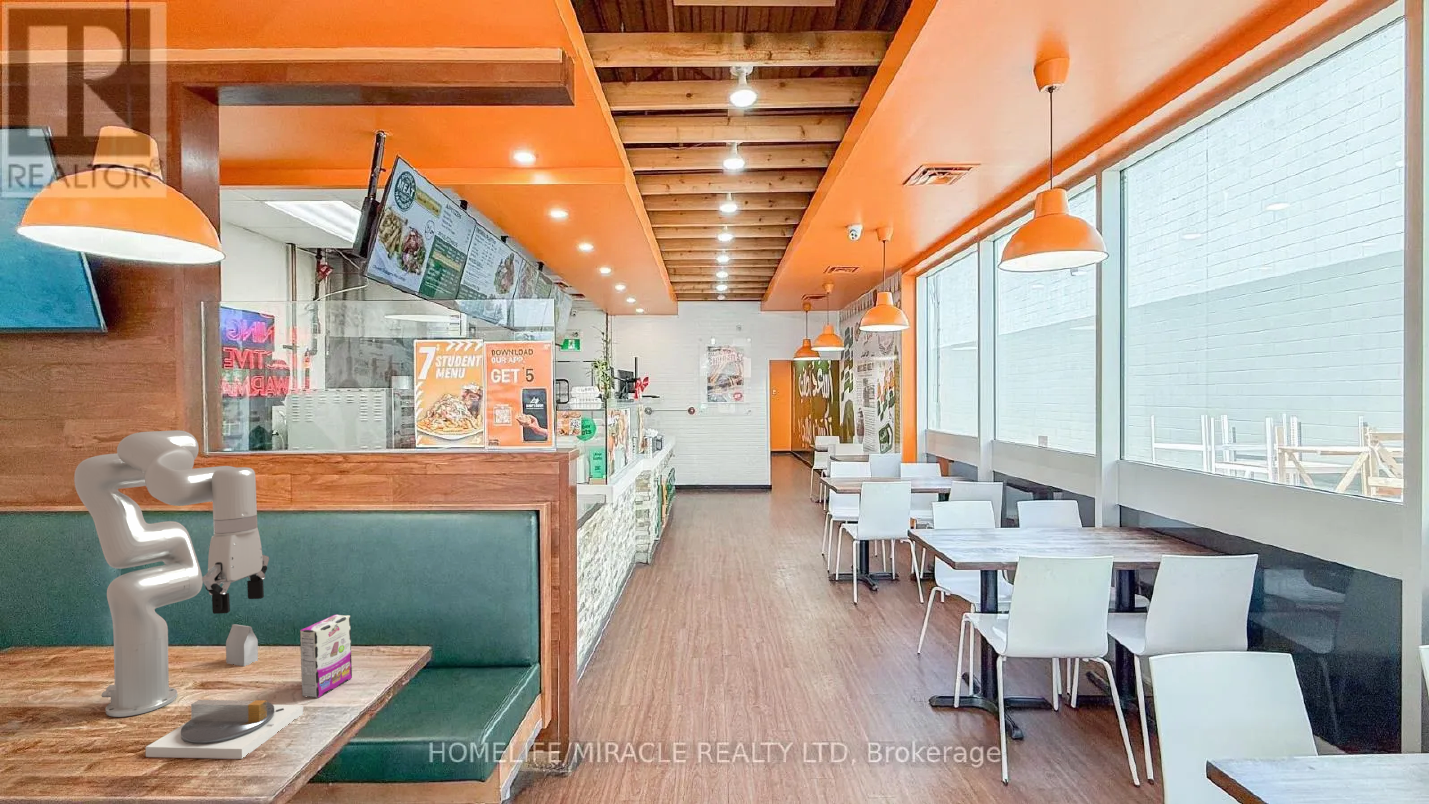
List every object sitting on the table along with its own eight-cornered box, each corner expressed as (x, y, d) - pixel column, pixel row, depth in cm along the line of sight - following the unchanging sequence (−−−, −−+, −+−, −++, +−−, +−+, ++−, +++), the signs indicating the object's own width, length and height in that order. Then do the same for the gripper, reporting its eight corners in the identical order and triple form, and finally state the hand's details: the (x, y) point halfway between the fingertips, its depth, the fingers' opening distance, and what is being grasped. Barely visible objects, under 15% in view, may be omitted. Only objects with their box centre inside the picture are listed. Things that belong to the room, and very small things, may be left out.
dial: (159, 743, 130) (159, 720, 130) (223, 704, 146) (222, 684, 146) (236, 744, 129) (235, 722, 129) (291, 705, 145) (291, 685, 145)
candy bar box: (335, 677, 166) (335, 613, 165) (352, 678, 165) (351, 614, 164) (299, 697, 155) (298, 629, 154) (317, 699, 154) (316, 630, 153)
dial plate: (145, 756, 129) (145, 746, 129) (218, 712, 147) (218, 702, 147) (241, 758, 128) (241, 748, 128) (303, 713, 146) (303, 704, 146)
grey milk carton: (244, 666, 172) (243, 629, 172) (226, 663, 174) (225, 626, 174) (257, 661, 176) (257, 624, 175) (240, 658, 178) (239, 622, 177)
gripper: (248, 519, 146) (251, 594, 146) (184, 534, 129) (188, 620, 129) (281, 517, 146) (284, 592, 146) (221, 533, 129) (224, 618, 129)
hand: (239, 605), depth 137 cm, fingers open, 9 cm apart
